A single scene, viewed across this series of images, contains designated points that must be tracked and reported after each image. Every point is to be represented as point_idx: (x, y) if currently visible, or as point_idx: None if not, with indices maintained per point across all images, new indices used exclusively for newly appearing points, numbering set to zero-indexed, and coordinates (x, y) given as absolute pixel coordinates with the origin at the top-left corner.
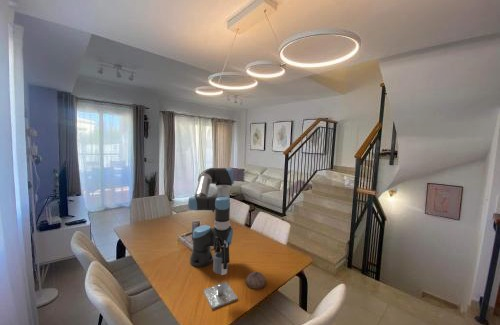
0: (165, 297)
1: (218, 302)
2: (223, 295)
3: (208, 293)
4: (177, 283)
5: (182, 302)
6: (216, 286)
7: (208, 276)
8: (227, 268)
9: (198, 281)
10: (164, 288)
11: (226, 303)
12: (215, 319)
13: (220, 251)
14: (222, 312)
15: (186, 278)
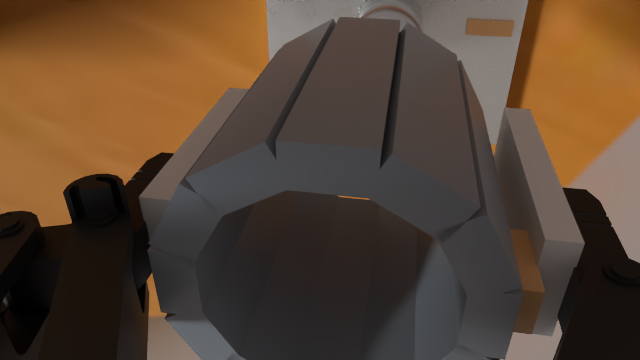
0: None
1: (479, 80)
2: (428, 3)
3: None
4: None
5: None
6: (282, 11)
7: (102, 7)
8: (465, 78)
9: (146, 108)
10: (152, 295)
11: (522, 14)
12: (593, 151)
13: (165, 248)
14: (575, 81)
15: (87, 169)
